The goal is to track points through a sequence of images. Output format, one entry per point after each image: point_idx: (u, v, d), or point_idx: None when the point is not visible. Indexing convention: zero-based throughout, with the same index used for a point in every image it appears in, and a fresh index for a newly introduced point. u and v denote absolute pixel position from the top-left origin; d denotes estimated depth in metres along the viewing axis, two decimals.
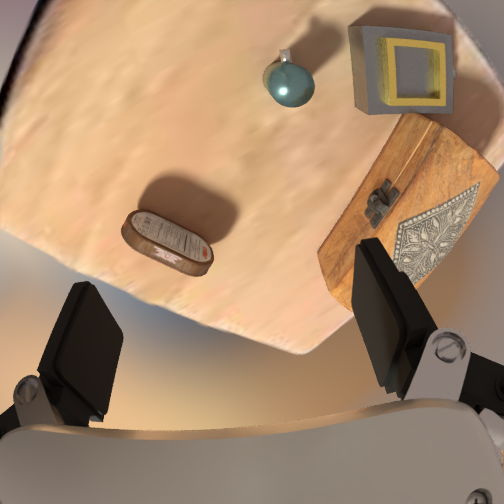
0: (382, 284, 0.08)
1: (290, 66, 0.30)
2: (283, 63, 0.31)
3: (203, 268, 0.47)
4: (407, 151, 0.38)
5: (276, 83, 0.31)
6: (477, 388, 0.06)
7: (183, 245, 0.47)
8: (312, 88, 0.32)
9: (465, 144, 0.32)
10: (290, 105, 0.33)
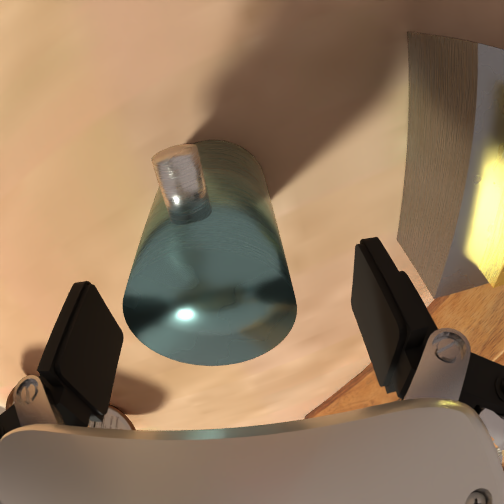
0: (382, 284, 0.08)
1: (189, 257, 0.08)
2: (172, 217, 0.08)
3: None
4: (489, 342, 0.16)
5: (147, 314, 0.09)
6: (477, 388, 0.06)
7: None
8: (287, 319, 0.09)
9: None
10: (210, 362, 0.10)
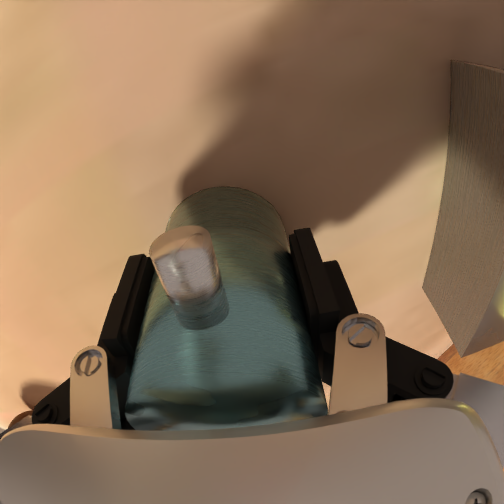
0: (303, 270, 0.09)
1: (204, 383, 0.06)
2: (180, 319, 0.07)
3: None
4: None
5: (153, 421, 0.07)
6: (393, 376, 0.07)
7: None
8: None
9: None
10: None
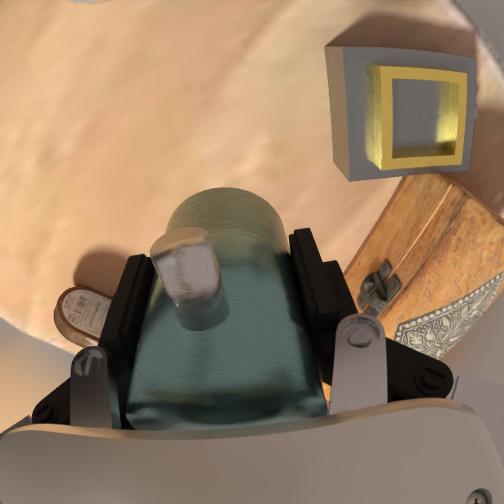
0: (303, 271, 0.09)
1: (205, 384, 0.06)
2: (180, 320, 0.07)
3: None
4: (415, 226, 0.29)
5: (154, 421, 0.07)
6: (393, 376, 0.07)
7: None
8: None
9: (495, 222, 0.22)
10: None
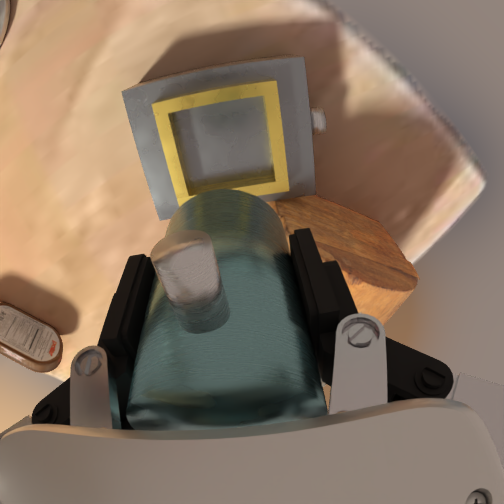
0: (303, 270, 0.09)
1: (205, 386, 0.06)
2: (181, 323, 0.07)
3: (47, 366, 0.38)
4: None
5: (155, 423, 0.07)
6: (393, 376, 0.07)
7: (30, 342, 0.38)
8: None
9: None
10: None
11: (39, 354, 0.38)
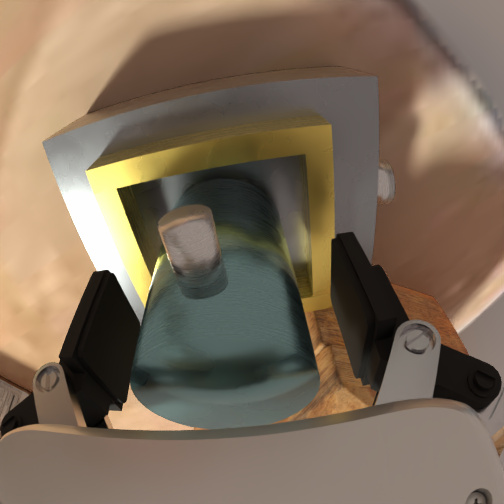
0: (353, 276, 0.09)
1: (205, 344, 0.06)
2: (183, 290, 0.07)
3: None
4: None
5: (157, 390, 0.08)
6: (448, 381, 0.06)
7: (6, 412, 0.28)
8: (309, 393, 0.08)
9: None
10: (224, 427, 0.09)
11: None
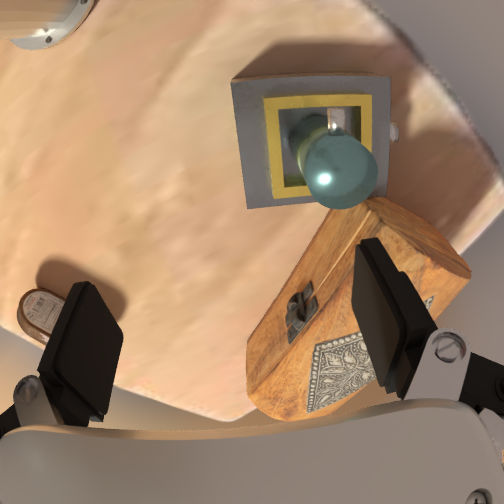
0: (382, 284, 0.08)
1: (345, 143, 0.19)
2: (331, 133, 0.20)
3: None
4: (336, 250, 0.32)
5: (318, 170, 0.20)
6: (477, 388, 0.06)
7: None
8: (373, 181, 0.21)
9: (413, 250, 0.25)
10: (335, 206, 0.22)
11: None
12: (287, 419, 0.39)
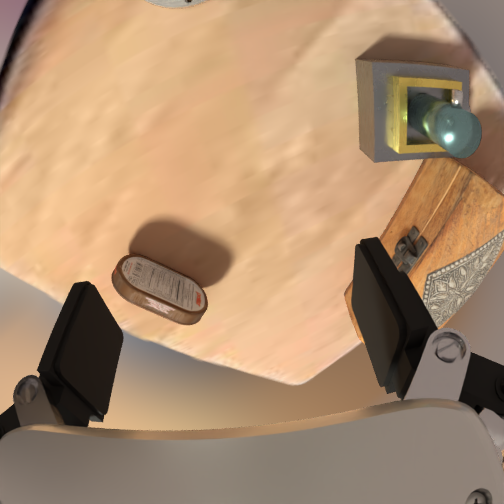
0: (382, 284, 0.08)
1: (467, 113, 0.23)
2: (455, 106, 0.24)
3: (197, 317, 0.45)
4: (434, 198, 0.37)
5: (452, 129, 0.24)
6: (477, 388, 0.06)
7: (175, 293, 0.45)
8: (479, 140, 0.25)
9: (494, 192, 0.29)
10: (458, 155, 0.26)
11: (188, 304, 0.45)
12: None
